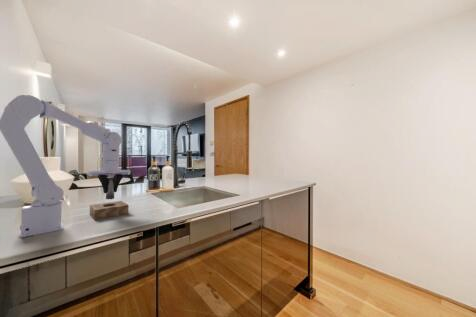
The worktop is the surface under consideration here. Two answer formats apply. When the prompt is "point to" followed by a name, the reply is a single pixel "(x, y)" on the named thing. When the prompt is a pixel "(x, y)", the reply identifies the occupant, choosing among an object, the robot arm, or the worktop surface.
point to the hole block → (108, 210)
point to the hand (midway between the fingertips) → (110, 192)
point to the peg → (110, 187)
